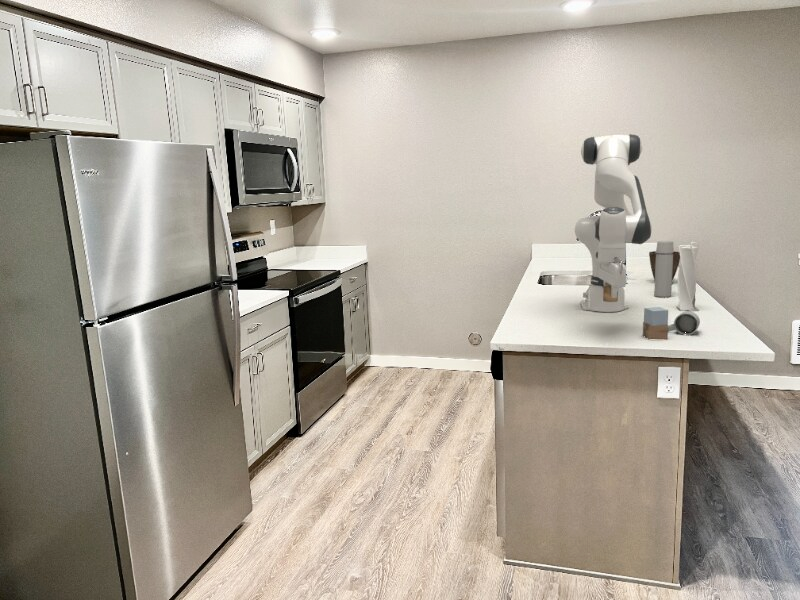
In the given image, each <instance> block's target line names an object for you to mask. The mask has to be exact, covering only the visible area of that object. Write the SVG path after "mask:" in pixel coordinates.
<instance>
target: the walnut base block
mask: <svg viewBox="0 0 800 600" xmlns="http://www.w3.org/2000/svg"><path fill="white" fill-rule="evenodd" d="M668 326H669V324H668V325H656V326H652V325H649V324H647V323H645V322H644V321H642V336H643V337H644V336H645V337H644V338H646V339H647V338H648V339H647V340H649V339H664V340H668V334H669V331H668Z"/></svg>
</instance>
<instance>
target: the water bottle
mask: <svg viewBox="0 0 800 600" xmlns="http://www.w3.org/2000/svg"><path fill="white" fill-rule="evenodd" d="M655 251H657V252H655V253H657V254H656V267H655V280H654V294H653V295H654V297H656V298H661V297H664V299H665V297H667V298H670V297H671V296H672V288H673V287H672V284H673V281H672V268H673V254H672V253H673V251H675V250H674V241H671V240H661V241H660V240H659V241H656V249H655Z"/></svg>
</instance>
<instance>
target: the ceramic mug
mask: <svg viewBox="0 0 800 600" xmlns="http://www.w3.org/2000/svg"><path fill="white" fill-rule="evenodd" d="M700 319H701V318H700V317H699V315H698V314H697V313H696V312H695V311H681V313H680V314H678V315H677V316H676V317H675V319H674V321H673V324H668V332H672V331H676V332H677V333H679V334H681V335H682V334H686V335H685V336H690V335H693V334H694V333H696V332H697V330H698V328H699V326H700V323H701V320H700ZM685 332H686V333H685Z"/></svg>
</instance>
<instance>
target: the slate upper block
mask: <svg viewBox="0 0 800 600" xmlns="http://www.w3.org/2000/svg"><path fill="white" fill-rule="evenodd" d="M643 309H644V310H643V311H644V312H643V313H644V314H643V322H645V323H647V324H649V325H652V326H656V325H668V326H669V309H666V308H664V307H660V306H656V307H655V306H653V307H644V308H643Z"/></svg>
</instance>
